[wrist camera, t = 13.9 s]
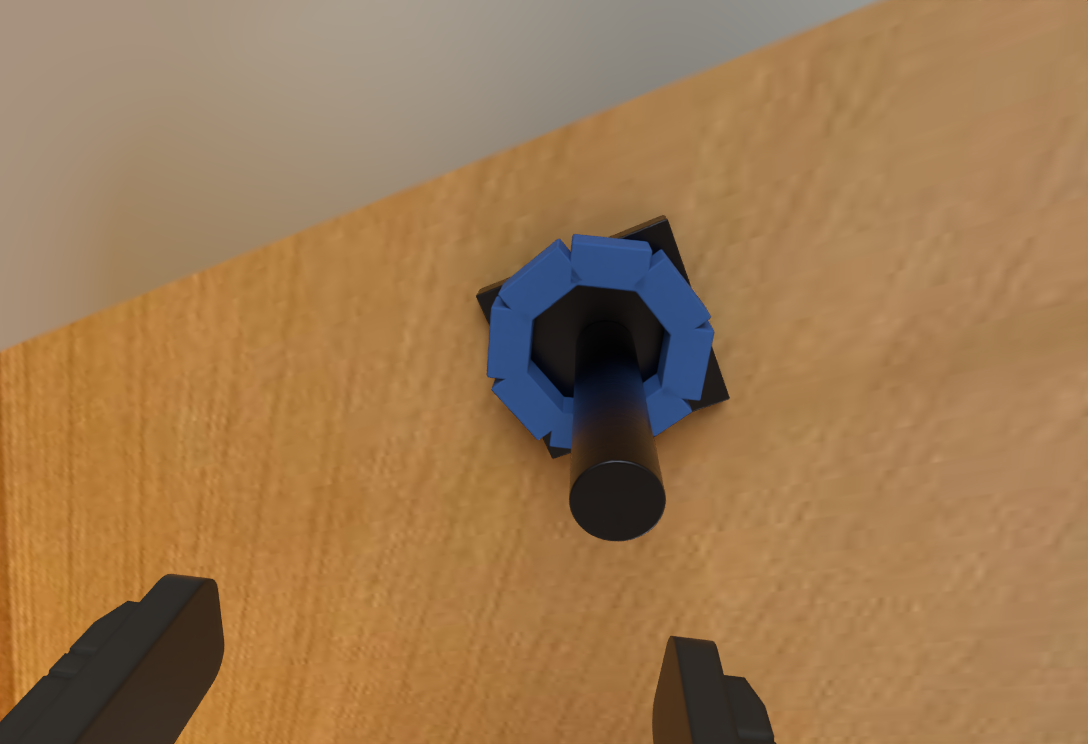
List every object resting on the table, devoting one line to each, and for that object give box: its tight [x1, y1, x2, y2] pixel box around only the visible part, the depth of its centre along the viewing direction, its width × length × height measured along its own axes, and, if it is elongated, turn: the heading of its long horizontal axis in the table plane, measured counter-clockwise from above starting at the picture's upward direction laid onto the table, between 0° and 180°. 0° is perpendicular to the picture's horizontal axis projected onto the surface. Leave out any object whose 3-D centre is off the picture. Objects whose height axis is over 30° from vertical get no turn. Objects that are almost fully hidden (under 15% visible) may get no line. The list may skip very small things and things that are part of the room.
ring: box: [487, 234, 714, 449], centre depth 25 cm, size 8×8×2 cm
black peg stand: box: [476, 215, 730, 541], centre depth 22 cm, size 8×8×12 cm
